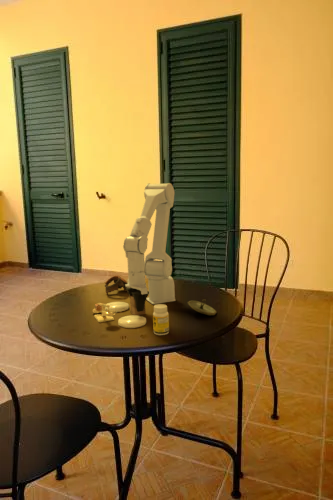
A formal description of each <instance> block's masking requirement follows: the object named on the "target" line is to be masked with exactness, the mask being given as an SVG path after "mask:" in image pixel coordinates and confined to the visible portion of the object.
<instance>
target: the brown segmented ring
mask: <svg viewBox="0 0 333 500" xmlns="http://www.w3.org/2000/svg"><path fill="white" fill-rule="evenodd" d="M112 282H113V284H111V283H112ZM110 284H111V285H110ZM125 284H128V283H127V279H125V278H123V277H121V276H120V275H115V276H114V275H113V276H111V277H110V278H109V279H108V280H106V281H105V282H104V287H105V293H106V294H107V295H108V293H111V292H115V291H119V289H120V290H121V289H122V288H123V291H127V290H126V288H129V287H126V286H125Z"/></svg>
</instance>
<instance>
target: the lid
mask: <svg viewBox="0 0 333 500" xmlns="http://www.w3.org/2000/svg"><path fill="white" fill-rule="evenodd" d="M206 301H207V300H206V299H202V300H201V301H198V300H189V301H187V305H188V306H189V307H190V308H191V309H192V310H194V311H196V312H197V313H200V314H203V315H207V316H215V315H216V314H217V310H216V309H214V308H213V307H212V306H210V305H209V304H206Z"/></svg>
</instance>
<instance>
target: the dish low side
mask: <svg viewBox="0 0 333 500" xmlns="http://www.w3.org/2000/svg"><path fill="white" fill-rule="evenodd" d="M105 304H106V305H110V307H109V310H114V311H116V313H122V312H125V311H127V310H129V309H130V304H129V303H128V302H125V301H111V302H108V303H105ZM106 310H108V308H107V307H105V311H106Z"/></svg>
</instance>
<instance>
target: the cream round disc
mask: <svg viewBox="0 0 333 500" xmlns="http://www.w3.org/2000/svg"><path fill="white" fill-rule="evenodd" d="M117 321H118V322H117V324H118V326H120V327H121V328H126V329H135V328H141V327H143V326H145V325H146V324H147V318H146V317H145V316H143V315H133V314H131V315H126V316H122V317H120V318H119V319H117Z"/></svg>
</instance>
